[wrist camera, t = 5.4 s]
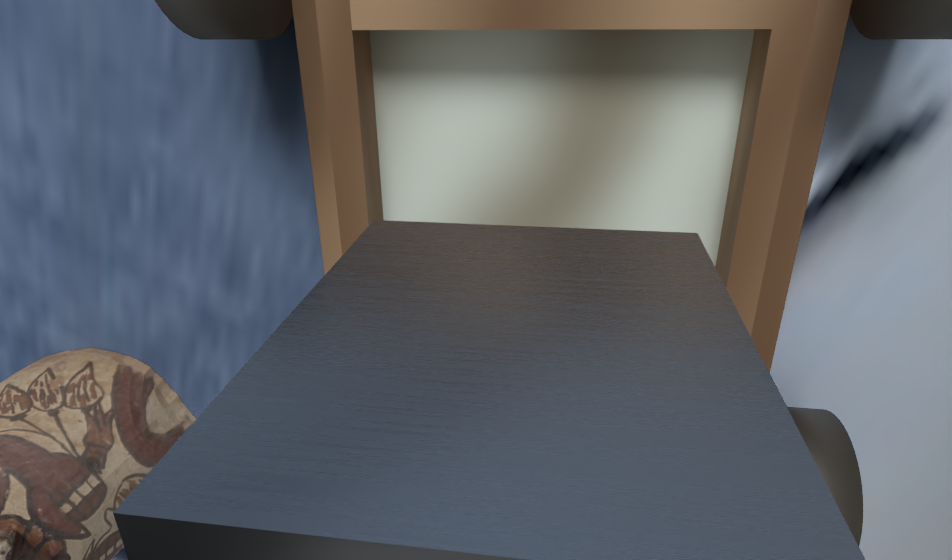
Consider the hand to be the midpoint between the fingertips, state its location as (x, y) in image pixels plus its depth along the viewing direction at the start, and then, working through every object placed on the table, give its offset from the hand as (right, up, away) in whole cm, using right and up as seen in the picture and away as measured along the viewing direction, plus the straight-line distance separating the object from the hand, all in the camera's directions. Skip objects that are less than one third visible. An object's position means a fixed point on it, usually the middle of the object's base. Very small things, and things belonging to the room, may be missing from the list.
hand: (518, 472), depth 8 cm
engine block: (0, 0, +1) cm, 1 cm away
